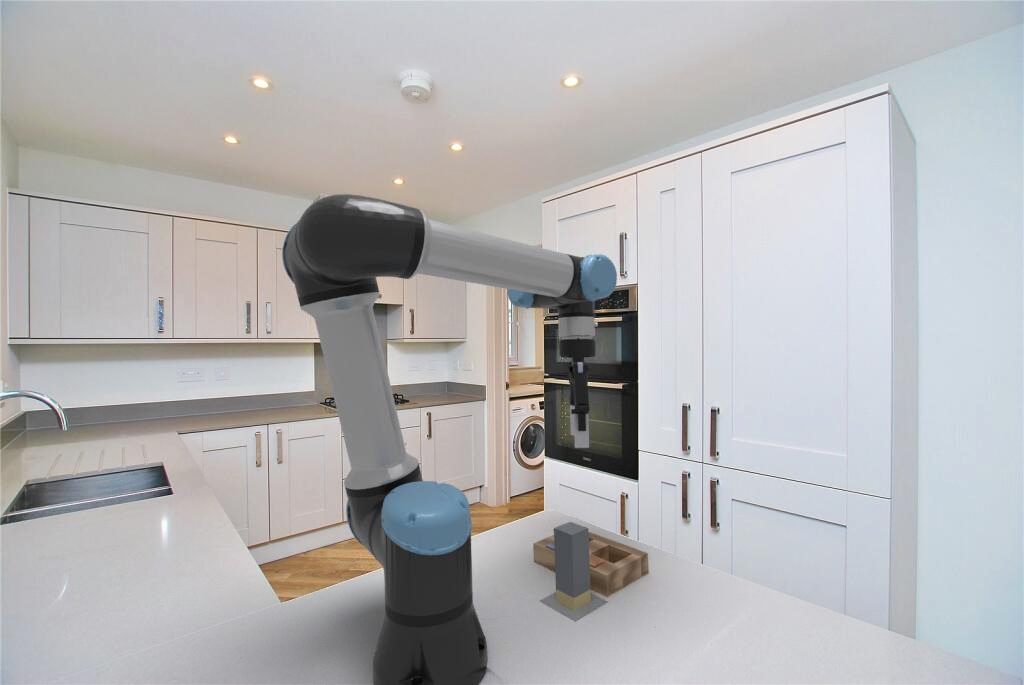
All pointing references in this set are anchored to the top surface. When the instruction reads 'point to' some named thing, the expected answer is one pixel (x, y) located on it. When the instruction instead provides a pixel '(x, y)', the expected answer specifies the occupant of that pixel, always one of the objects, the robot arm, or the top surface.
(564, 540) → the plug
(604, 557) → the socket board
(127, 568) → the top surface
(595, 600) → the mat
